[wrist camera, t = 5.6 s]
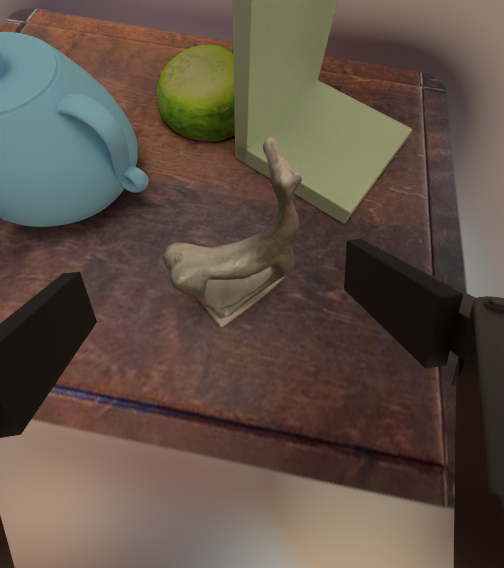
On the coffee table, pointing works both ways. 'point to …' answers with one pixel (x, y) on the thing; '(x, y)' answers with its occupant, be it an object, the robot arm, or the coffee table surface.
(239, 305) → the figurine
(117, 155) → the teapot
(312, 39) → the rack
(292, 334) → the coffee table surface
